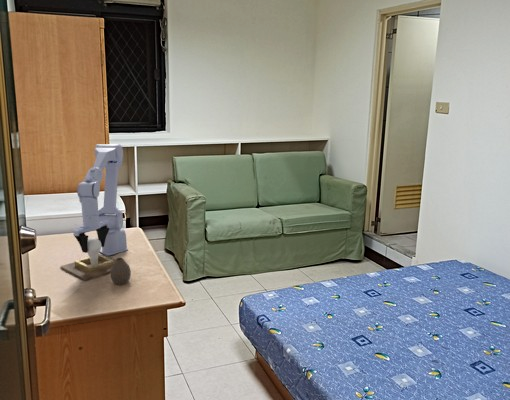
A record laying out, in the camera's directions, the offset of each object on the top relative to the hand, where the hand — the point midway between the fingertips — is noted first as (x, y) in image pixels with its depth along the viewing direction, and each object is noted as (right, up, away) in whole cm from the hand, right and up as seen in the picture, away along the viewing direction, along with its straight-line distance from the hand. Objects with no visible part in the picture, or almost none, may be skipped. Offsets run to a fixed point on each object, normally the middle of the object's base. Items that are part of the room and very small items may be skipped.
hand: (93, 249), depth 184 cm
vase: (+13, -11, -11) cm, 21 cm away
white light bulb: (0, -7, +2) cm, 7 cm away
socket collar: (0, -7, +2) cm, 7 cm away
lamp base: (0, -7, +2) cm, 7 cm away
